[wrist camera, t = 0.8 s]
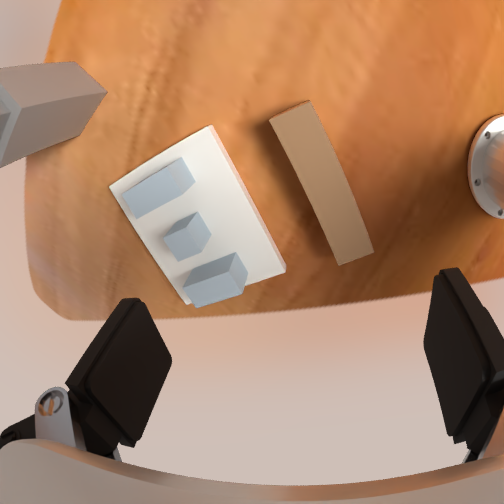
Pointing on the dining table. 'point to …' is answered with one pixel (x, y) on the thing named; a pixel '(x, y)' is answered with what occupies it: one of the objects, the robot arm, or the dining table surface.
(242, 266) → the stand
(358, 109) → the dining table surface
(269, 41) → the dining table surface
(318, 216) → the long tan plank
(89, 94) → the perfume bottle
